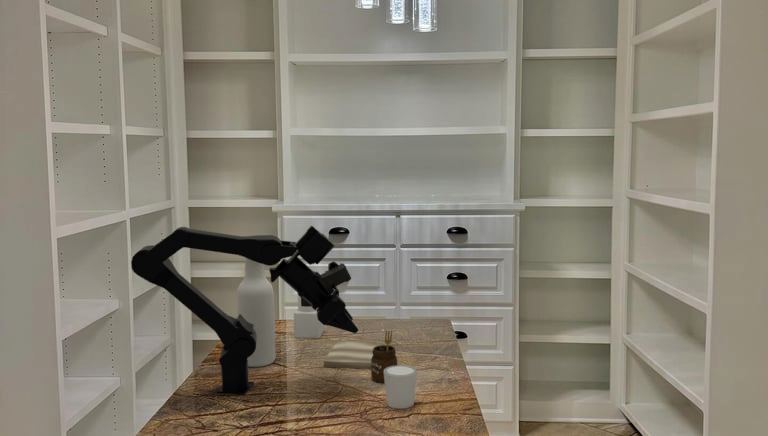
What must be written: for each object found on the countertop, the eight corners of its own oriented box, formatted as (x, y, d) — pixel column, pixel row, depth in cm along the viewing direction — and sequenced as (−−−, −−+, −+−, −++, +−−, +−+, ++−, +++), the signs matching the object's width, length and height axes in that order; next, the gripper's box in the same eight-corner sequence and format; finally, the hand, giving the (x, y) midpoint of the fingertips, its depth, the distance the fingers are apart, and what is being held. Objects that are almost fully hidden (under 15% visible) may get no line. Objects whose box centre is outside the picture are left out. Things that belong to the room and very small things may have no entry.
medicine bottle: (324, 331, 190) (323, 289, 189) (319, 338, 183) (318, 295, 182) (299, 330, 191) (298, 289, 189) (294, 338, 184) (292, 295, 182)
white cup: (397, 394, 142) (397, 362, 142) (423, 402, 138) (423, 369, 137) (376, 404, 137) (376, 371, 136) (403, 412, 133) (403, 378, 132)
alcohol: (239, 369, 159) (234, 244, 156) (239, 357, 168) (235, 238, 164) (276, 366, 161) (272, 242, 157) (275, 355, 169) (271, 237, 166)
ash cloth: (381, 369, 158) (381, 363, 158) (323, 367, 160) (323, 361, 160) (390, 348, 174) (390, 342, 174) (337, 346, 176) (337, 341, 175)
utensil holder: (391, 372, 156) (391, 322, 154) (402, 381, 150) (401, 329, 149) (367, 375, 154) (366, 324, 152) (377, 385, 148) (376, 332, 146)
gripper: (332, 260, 137) (386, 309, 140) (324, 246, 155) (372, 290, 159) (295, 300, 137) (350, 348, 140) (291, 281, 155) (340, 324, 158)
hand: (354, 325), depth 149 cm, fingers open, 9 cm apart
